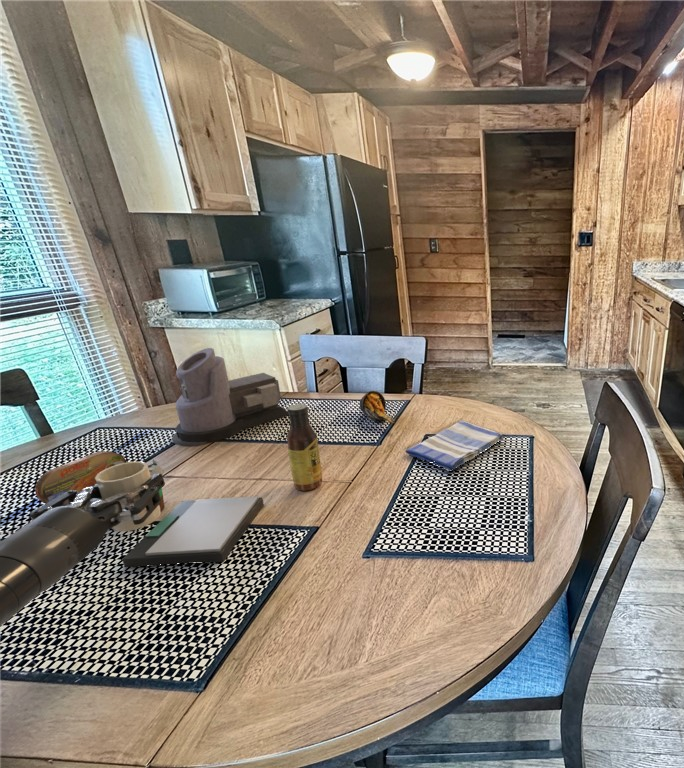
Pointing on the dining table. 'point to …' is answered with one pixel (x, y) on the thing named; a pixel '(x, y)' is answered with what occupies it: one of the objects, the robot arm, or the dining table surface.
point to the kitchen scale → (196, 532)
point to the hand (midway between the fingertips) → (138, 479)
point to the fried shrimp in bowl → (374, 406)
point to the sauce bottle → (303, 450)
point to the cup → (125, 488)
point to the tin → (75, 475)
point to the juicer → (221, 400)
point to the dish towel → (455, 445)
